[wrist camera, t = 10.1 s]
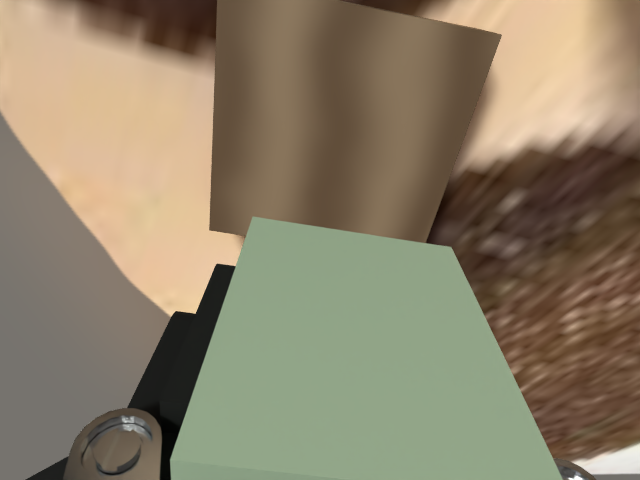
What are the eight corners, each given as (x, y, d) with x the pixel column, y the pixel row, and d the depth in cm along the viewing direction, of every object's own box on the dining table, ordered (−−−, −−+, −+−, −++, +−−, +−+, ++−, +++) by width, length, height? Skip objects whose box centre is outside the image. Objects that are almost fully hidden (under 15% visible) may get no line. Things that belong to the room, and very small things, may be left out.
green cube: (451, 247, 10) (574, 504, 5) (398, 379, 13) (445, 638, 8) (252, 216, 10) (169, 459, 5) (239, 358, 12) (177, 614, 7)
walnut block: (477, 28, 23) (501, 34, 20) (408, 233, 31) (417, 263, 27) (235, -21, 22) (218, -23, 19) (223, 202, 30) (209, 230, 26)
